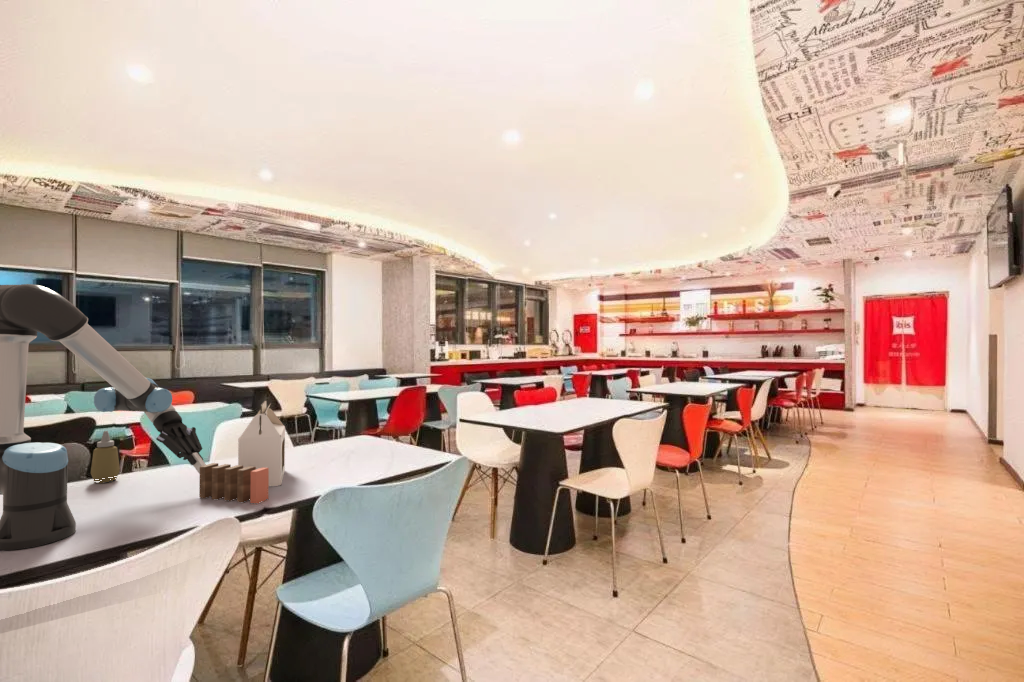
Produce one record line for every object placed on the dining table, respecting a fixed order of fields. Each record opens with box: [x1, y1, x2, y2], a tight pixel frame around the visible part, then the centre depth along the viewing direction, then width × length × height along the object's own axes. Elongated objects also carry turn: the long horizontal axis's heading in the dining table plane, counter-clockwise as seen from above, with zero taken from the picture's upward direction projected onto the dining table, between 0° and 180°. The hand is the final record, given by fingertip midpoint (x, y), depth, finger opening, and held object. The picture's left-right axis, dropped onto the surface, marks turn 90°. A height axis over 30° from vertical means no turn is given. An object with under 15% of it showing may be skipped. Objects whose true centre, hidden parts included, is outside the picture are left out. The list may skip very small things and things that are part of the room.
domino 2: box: [211, 463, 232, 500], centre depth 157 cm, size 2×5×10 cm, turn 164°
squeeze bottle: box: [90, 430, 121, 484], centre depth 174 cm, size 8×8×18 cm
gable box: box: [237, 400, 286, 488], centre depth 177 cm, size 22×13×28 cm, turn 22°
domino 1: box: [198, 462, 219, 499], centre depth 158 cm, size 2×5×10 cm, turn 164°
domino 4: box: [236, 466, 256, 503], centre depth 154 cm, size 2×5×10 cm, turn 164°
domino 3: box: [223, 464, 243, 502], centre depth 155 cm, size 2×5×10 cm, turn 164°
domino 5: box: [249, 467, 269, 504], centre depth 153 cm, size 2×5×10 cm, turn 164°
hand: (203, 470), depth 159 cm, fingers closed
